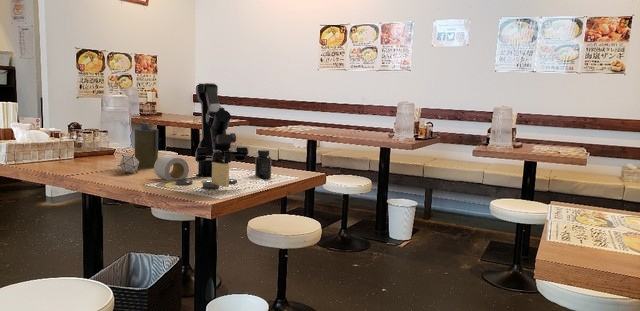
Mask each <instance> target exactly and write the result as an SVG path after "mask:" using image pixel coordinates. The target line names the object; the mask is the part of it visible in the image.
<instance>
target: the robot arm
mask: <svg viewBox="0 0 640 311" xmlns="http://www.w3.org/2000/svg"><path fill="white" fill-rule="evenodd" d="M218 88H219V87H218V85H217V83H213V82H212V83H211V82H205V83H201V82H200V83H198V84H197V85H196V86H195V94H196V96H197V101H198V102H199V103H200V105H201V106H200V107H201V108H200V109H201V139H200V141H199V143H198V147H197V148H196V150H195V153H194V156H195V157H194V159H195V162H197V163H198V165H197V166H198V168H197V169H198V172H197V174H195V176H198V177H202V178H210V177H211V178H212V162H219V163H225V164H229V163H231V162H232V159H233V157H234V159H235V160H236V161H237V162H242V161H246V160H247V157H248V154H249V148H248V147H246V146H236V147H235V148H236V149H235V150H230V149H231V147H232V146H231V144H233V143H234V144H235V143H236V142H237V134H236V133H234V132H230V133H229V134H228V133H227V130H228V128H229V125H230V122H231V121H230V120H231V118H232V115H231V113H230V112H229V111H228V110H226V109H225V107H222V106H221V104H220V101H219V96H218V94H219V92H218V90H219V89H218Z"/></svg>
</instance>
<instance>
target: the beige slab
mask: <svg viewBox="0 0 640 311" xmlns="http://www.w3.org/2000/svg"><path fill="white" fill-rule="evenodd" d="M229 179H230V164H229V163H228V164H225V163H219V162H212V176H211V182H204V183H202V188H203V189H206V190H217V189H220V187H225V188H226V187H229V185H230V184H229Z"/></svg>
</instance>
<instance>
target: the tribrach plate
mask: <svg viewBox="0 0 640 311" xmlns="http://www.w3.org/2000/svg"><path fill="white" fill-rule="evenodd" d="M204 182H212V180H209V179H203V180H201V183H202V184H203V183H204ZM233 184H234V185H235V184H238V180H237V179H235V178H229V185H233ZM175 185H176V186H192V185H193V180H190V179H176V180H175Z"/></svg>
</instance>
